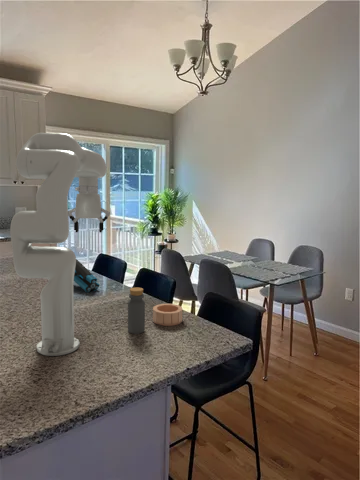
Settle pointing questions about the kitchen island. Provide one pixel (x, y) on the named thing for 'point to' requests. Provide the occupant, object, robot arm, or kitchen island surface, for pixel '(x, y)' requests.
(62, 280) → the robot arm
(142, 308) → the bottle
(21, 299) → the kitchen island surface
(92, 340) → the kitchen island surface
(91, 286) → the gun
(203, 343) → the kitchen island surface
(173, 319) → the segmented wooden bowl
